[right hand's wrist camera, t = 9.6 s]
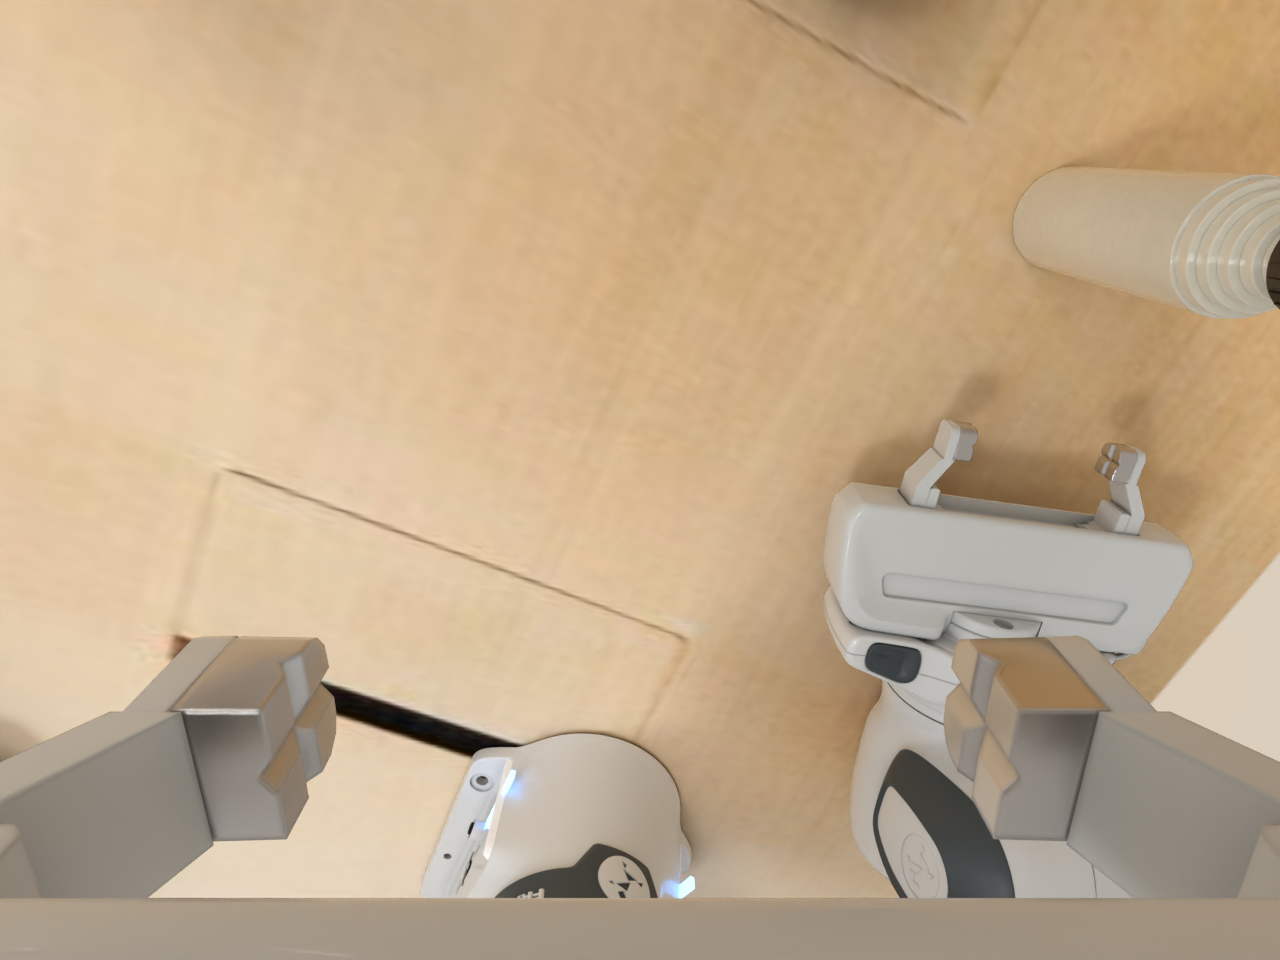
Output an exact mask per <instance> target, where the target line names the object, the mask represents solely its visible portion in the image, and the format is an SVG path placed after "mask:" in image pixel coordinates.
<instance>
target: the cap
mask: <svg viewBox="0 0 1280 960" xmlns="http://www.w3.org/2000/svg"><path fill="white" fill-rule="evenodd" d="M1266 286H1267V290H1268V294H1269V296H1270V298H1271V300H1272V301H1273V304H1274V305H1276V306H1277V307H1278V308H1279V309H1280V240H1279V241H1278V243H1277V244H1276V246H1275V248H1274V249H1273V252H1272V254H1271V256H1270V259H1269V262H1268V266H1267V270H1266Z"/></svg>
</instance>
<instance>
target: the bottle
mask: <svg viewBox="0 0 1280 960" xmlns="http://www.w3.org/2000/svg"><path fill="white" fill-rule="evenodd" d="M1013 236H1014V241H1015V244H1016V247H1017V249H1018V251H1019V252H1020V254H1021V255H1022V256H1023V257H1024V258H1025V259H1026V260H1027V261H1028V262H1029V263H1031V264H1033V265H1035V266H1037V267H1039V268H1042V269H1046V270H1049V271H1053V272H1056V273H1059V274H1063V275H1066V276H1069V277H1073V278H1076V279H1080V280H1083V281H1086V282H1090V283H1093V284H1097V285H1100V286H1103V287H1107V288H1110V289H1114V290H1117V291H1120V292H1124V293H1127V294H1130V295H1134V296H1137V297H1141V298H1144V299H1147V300H1151V301H1154V302H1158V303H1161V304H1164V305H1168V306H1171V307H1175V308H1178V309H1181V310H1185V311H1188V312H1191V313H1195V314H1198V315H1202V316H1205V317H1210V318H1216V319H1228V318H1235V319H1237V318H1247V317H1252V316H1256V315H1259V314H1262V313H1265V312H1267V311H1271V310H1274V309H1277V308H1278V307H1277V306H1276V305H1274V304H1273V301H1272V300H1271V298H1270V296H1269V294H1268V290H1267V286H1266V270H1267V266H1268V262H1269V259H1270V256H1271V254H1272V252H1273V249H1274V248H1275V246H1276V244H1277V243H1278V241H1279V240H1280V177H1279V176H1275V175H1269V174H1249V173H1224V172H1200V171H1176V170H1151V169H1127V168H1103V167H1078V166H1069V167H1062V168H1058V169H1055V170H1052V171H1050V172H1048V173H1046V174H1045V175H1043V176H1042V177H1040V178H1039V179H1038V180H1036V181H1035V182H1034V183H1033V184H1032V185H1031V186H1030V187H1029V188H1028V189H1027V191H1026V192H1025V193H1024V195H1023V196H1022V198H1021V199H1020V201H1019V204H1018V206H1017V208H1016V211H1015V215H1014V219H1013Z"/></svg>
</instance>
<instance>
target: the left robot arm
mask: <svg viewBox="0 0 1280 960" xmlns="http://www.w3.org/2000/svg"><path fill="white" fill-rule="evenodd" d="M977 438H978V431H977V429H976V428H975V427H973V426H971V424H970V423H965V422H959V421H953V420H942V421H941V423H940V426H939V429H938V432H937V436H936V439H935V442H934V445H933V447H930V448H929V449H928V450H927V451H926V452H925V453H924V454H923V455H922V456H921V457H920V458H919V459H918V460H917V461H916V462H915V463H914V464H913V465H912V466H910V467H909V468H908V469H907V470H906V471H905V474H904V477H903V480H902V484H901V487H900V488H895V487H888V486H880V485H873V484H866V483H859V482H851V483H849V484H848V485H846V486H845V487H844V488H843V489H841V490H840V491H839V492H838V493H837V494H836V495H835V496H834V498H833V501H832V504H831V508H830V513H829V517H828V523H827V529H826V536H825V544H824V556H823V562H824V569H825V573H826V575H827V578H828V580H829V583H830V586H829V587H828V589H827V590H826V593H825V596H824V599H823V607H824V613H825V617H826V621H827V624H828V627H829V629H830V632H831V634H832V636H833V639H834V641H835V643H836V645H837V647H838V649H839V650H840V652H841V654H842V655H843V657H844V659H845V660H846V662H847V663H848V664H849V665H851V666H852V667H854V668H856V669H858V670H860V671H863V672H865V673H868V674H870V675H872V676H875V677H877V678H879V679H882V693H881V696H880V698H879V700H878V702H877V703H876V704H875V705H874V707H873V708H872V710H871V711H870V713H869V715H868V717H867V720H866V723H865V726H864V730H863V733H862V736H861V740H860V744H859V748H858V752H857V756H856V760H855V765H854V771H853V777H852V783H851V792H850V811H849V812H850V827H851V831H852V835H853V838H854V840H855V842H856V844H857V846H858V848H859V850H860V852H861V853H862V855H863V856H864V857H865V859H866V860H867V861H868V862H869V863H870V865H871V866H872V867H873V868H875V869H876V870H877V871H878V872H879V873H881V874H882V875H883V876H885V877H886V878H888V879H889V880H890V881H891V883H892V885H893V887H894V888H895V890H896V892H897V894H898V895H899V897H900V898H1132V897H1131V896H1130V895H1129V894H1127V893H1126V892H1125V891H1124V890H1122V889H1121V888H1120V887H1119V886H1117V885H1116V884H1115V883H1114V882H1112V881H1111V880H1110V879H1109V878H1107V877H1106V876H1105V875H1104V874H1102V873H1101V872H1100V871H1099V870H1097V869H1096V868H1095V867H1094V866H1092V865H1091V864H1090V863H1089V862H1087V861H1086V860H1085V859H1084V858H1082V857H1081V856H1080V855H1079V854H1077V853H1076V852H1075V851H1074V850H1072V849H1071V848H1070V847H1069V846H1067V845H1066V844H1067V841H1036V840H1000V839H993V837H992V835H991V833H990V832H989V830H988V828H987V826H986V824H985V822H984V820H983V819H982V817H981V815H980V813H979V811H978V809H977V807H976V806H975V804H974V802H973V800H972V798H971V797H972V791H973V785H974V782H972V781H971V780H970V779H968V778H967V777H965V776H964V775H962V774H961V773H959V772H958V771H957V769H956V767H955V765H954V763H953V761H952V759H951V758H950V755H949V751H948V748H947V745H946V741H945V731H944V720H943V719H944V711H945V703H946V697H947V696H948V695H949V694H950V693H951V692H952V691H953V690H954V688H955V687H956V686H957V685H958V684H959V683H960V681H959V680H958V678H957V676H956V675H955V673H954V671H953V670H952V668H951V665H952V660H953V654H954V650H955V647H956V645H957V643H958V641H959V639H986V638H1026V637H1052V636H1080V637H1083V638H1085V639H1088V640H1089V641H1090V642H1091V643H1092V644H1093V645H1094V646H1095V647H1096V648H1097V649H1098V651H1099V652H1100V653H1101V654H1102V655H1103V656H1104V657H1105V658H1106V659H1107V660H1108V661H1109V662H1110V663H1111V664H1112V665H1113V664H1114V663H1115V660H1121V659H1125V658H1127V657H1129V656H1131V655H1135V654H1138V653H1139V652H1140V651H1141V650H1142V649H1143V647H1144V646H1145V644H1146V642H1147V640H1148V638H1149V637H1150V635H1151V634H1152V633H1153V632H1154V631H1155V629H1156V628H1157V627H1158V625H1159V624H1160V622H1161V621H1162V619H1163V618H1164V616H1165V615H1166V613H1167V612H1168V610H1169V609H1170V607H1171V606H1172V604H1173V603H1174V601H1175V599H1176V598H1177V596H1178V594H1179V593H1180V591H1181V589H1182V587H1183V586H1184V584H1185V582H1186V580H1187V578H1188V576H1189V574H1190V572H1191V570H1192V568H1193V558H1192V555H1191V552H1190V549H1189V547H1188V545H1187V544H1186V543H1185V542H1184V541H1182V540H1181V539H1180V538H1179V537H1177V536H1176V535H1175V534H1173V533H1172V532H1170V531H1169V530H1167V529H1166V528H1164V527H1163V526H1161V525H1159V524H1157V523H1154V522H1149V521H1144V518H1145V513H1144V509H1143V504H1142V499H1141V495H1140V490H1139V485H1137V482H1138V479H1139V477H1140V474H1141V472H1142V469H1143V467H1144V464H1145V462H1146V454H1145V452H1143V451H1142V450H1140V449H1138V448H1137V447H1135V446H1132V445H1125V444H1117V443H1109V442H1108V443H1106V444H1105V445H1104V446H1103V448H1102V451H1101V452H1102V456H1101V457H1100V458H1099V459H1098V461H1097V464H1096V467H1095V470H1096V471H1098V472H1099V473H1101V474H1103V475H1105V477H1106V478H1108V479H1109V486H1110V492H1111V501H1110V500H1108V499H1102V500H1101V501H1100V503H1099V506H1098V508H1097V511H1096V513H1095V514H1089V513H1082V512H1074V511H1067V510H1059V509H1052V508H1044V507H1037V506H1029V505H1022V504H1015V503H1007V502H1000V501H992V500H985V499H977V498H970V497H962V496H955V495H948V494H940V490H939V489H938V488H937V486H936V485H935V484H934V483H935V482H936V481H937V480H938V479H939V478H940V477H941V476H942V475H943V474H944V472H945V471H946V470H947V469H948V468H949V467H950V466H951V465H952V464H953V463H954V462H955V460H960V461H969V462H970V460H971V457H972V454H973V451H974V450H973V448H972V446H973V445H974V444H975V443H976V441H977ZM1115 652H1116V654H1115ZM480 776H484V777H486V778H481V777H480ZM691 856H692V851H691V847H690V845H689V842H688V840H687V839H686V837H685V835H684V833H683V832H682V830H681V825H680V799H679V794H678V791H677V788H676V785H675V783H674V781H673V779H672V778H671V776H670V775H669V773H668V772H667V770H666V769H665V768H664V767H663V766H662V765H661V764H660V763H659V762H658V761H657V760H656V759H655V758H654V757H652V756H651V755H650V754H648V753H647V752H645V751H644V750H642V749H641V748H639V747H637V746H635V745H633V744H631V743H628V742H626V741H623V740H620V739H617V738H613V737H610V736H605V735H598V734H588V733H574V734H564V735H558V736H553V737H549V738H546V739H543V740H540V741H537V742H534V743H531V744H528V745H525V746H521V747H492V748H485V749H481V750H479V751H477V752H476V753H475V754H474V755H473V757H472V759H471V761H470V764H469V766H468V769H467V771H466V774H465V776H464V778H463V781H462V783H461V786H460V788H459V791H458V793H457V795H456V798H455V800H454V803H453V805H452V808H451V810H450V812H449V815H448V817H447V820H446V822H445V825H444V827H443V829H442V832H441V834H440V837H439V839H438V842H437V844H436V846H435V849H434V851H433V854H432V856H431V859H430V861H429V864H428V866H427V868H426V871H425V873H424V876H423V879H422V884H421V890H420V893H421V895H422V897H423V898H683V897H684V896H686V895H687V894H688V893H690V892H691V891H692V890H693V889H695V884H694V878H693V877H692V876H690V877H689V878H688V879H686V880H685V881H684V882H682V883H681V875H682V874H683V873H684V872H686V871H687V870H688V869H689V867H690V865H691ZM680 883H681V884H680Z"/></svg>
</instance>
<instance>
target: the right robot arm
mask: <svg viewBox="0 0 1280 960" xmlns="http://www.w3.org/2000/svg"><path fill="white" fill-rule="evenodd" d="M328 668H329V665H328V660H327V655H326V651H325V646H324V644H323V643H322V642H321V641H320V640H319V639H318V638H299V637H249V636H242V637H238V636H203V637H198V638H194V639H192V640H191V641H190V642H189V643H188V645H187V646H186V647H185V648H184V649H183V650H182V651H181V652H180V653H179V654H178V655H177V656H176V657H175V658H174V659H173V660H172V661H171V662H170V663H169V664H168V665H167V666H166V667H165V668H164V669H163V670H162V672H161V673H160V674H159V675H158V676H157V677H156V678H155V679H154V680H153V681H152V682H151V683H150V684H149V685H148V686H147V687H146V688H145V689H144V690H143V691H142V692H141V693H140V694H139V695H138V696H137V697H136V699H135V700H134V701H133V702H132V703H131V704H130V705H129V706H128V707H127V708H126V709H125V710H124V711H123V712H108V713H106V714H104V715H102V716H99V717H97V718H95V719H93V720H91V721H89V722H86V723H84V724H82V725H80V726H78V727H75V728H73V729H71V730H69V731H67V732H65V733H62V734H60V735H58V736H56V737H54V738H52V739H49V740H47V741H45V742H43V743H41V744H38V745H36V746H34V747H32V748H30V749H28V750H25V751H23V752H21V753H19V754H17V755H15V756H12V757H10V758H8V759H6V760H4V761H1V762H0V960H1280V762H1278V761H1276V760H1274V759H1272V758H1270V757H1267V756H1265V755H1263V754H1261V753H1259V752H1257V751H1254V750H1252V749H1250V748H1248V747H1246V746H1243V745H1241V744H1239V743H1237V742H1235V741H1233V740H1230V739H1228V738H1226V737H1224V736H1222V735H1220V734H1217V733H1215V732H1213V731H1211V730H1209V729H1207V728H1204V727H1202V726H1200V725H1198V724H1196V723H1194V722H1191V721H1189V720H1187V719H1185V718H1183V717H1181V716H1178V715H1176V714H1174V713H1172V712H1157V711H1156V710H1155V709H1154V708H1153V707H1152V706H1151V705H1150V704H1149V703H1148V702H1147V700H1146V699H1145V698H1144V697H1143V696H1142V695H1141V694H1140V693H1139V692H1138V691H1137V690H1136V689H1135V688H1134V687H1133V686H1132V685H1131V684H1130V683H1129V682H1128V681H1127V680H1126V679H1125V678H1124V677H1123V675H1122V674H1121V673H1120V672H1119V671H1118V670H1117V669H1116V668H1115V667H1114V666H1113V665H1112V664H1111V663H1110V662H1109V661H1108V660H1107V659H1106V658H1105V657H1104V656H1103V655H1102V654H1101V653H1100V652H1099V651H1098V649H1097V648H1096V647H1095V646H1094V645H1093V644H1092V643H1091V642H1090V641H1089V640H1088V639H1085V638H1083V637H1080V636H1052V637H1026V638H986V639H959V641H958V643H957V645H956V647H955V650H954V654H953V660H952V665H951V668H952V670H953V671H954V673H955V675H956V676H957V678H958V680H959V681H960V683H959V684H958V685H957V686H956V687H955V688H954V690H953V691H952V692H951V693H950V694H949V695H948V696H947V697H946V703H945V711H944V719H943V720H944V731H945V741H946V745H947V748H948V751H949V755H950V758H951V759H952V761H953V763H954V765H955V767H956V769H957V771H958V772H959V773H961V774H962V775H964V776H965V777H967V778H968V779H970V780H971V781H972V782H974V785H973V791H972V797H971V798H972V800H973V802H974V804H975V806H976V807H977V809H978V811H979V813H980V815H981V817H982V819H983V820H984V822H985V824H986V826H987V828H988V830H989V832H990V833H991V835H992V837H993V839H1000V840H1036V841H1067V844H1066V845H1067V846H1069V847H1070V848H1071V849H1072V850H1074V851H1075V852H1076V853H1077V854H1079V855H1080V856H1081V857H1082V858H1084V859H1085V860H1086V861H1087V862H1089V863H1090V864H1091V865H1092V866H1094V867H1095V868H1096V869H1097V870H1099V871H1100V872H1101V873H1102V874H1104V875H1105V876H1106V877H1107V878H1109V879H1110V880H1111V881H1112V882H1114V883H1115V884H1116V885H1117V886H1119V887H1120V888H1121V889H1122V890H1124V891H1125V892H1126V893H1127V894H1129V895H1130V896H1131V897H1132V898H148V897H149V896H150V895H152V894H153V893H154V892H155V891H157V890H158V889H159V888H160V887H162V886H163V885H164V884H165V883H167V882H168V881H169V880H170V879H172V878H173V877H174V876H175V875H177V874H178V873H179V872H180V871H182V870H183V869H184V868H185V867H187V866H188V865H189V864H190V863H192V862H193V861H194V860H195V859H197V858H198V857H199V856H200V855H202V854H203V853H204V852H205V851H207V850H208V849H209V848H210V847H212V846H213V841H243V840H278V839H287V837H288V836H289V834H290V832H291V830H292V828H293V826H294V824H295V822H296V821H297V819H298V817H299V815H300V813H301V811H302V809H303V807H304V806H305V804H306V802H307V800H308V798H309V796H308V791H307V785H306V782H308V781H309V780H311V779H312V778H313V777H315V776H316V775H318V774H319V773H321V772H322V771H323V769H324V767H325V765H326V763H327V761H328V759H329V757H330V755H331V752H332V747H333V743H334V739H335V734H336V709H335V702H334V697H333V696H332V695H331V694H330V693H329V692H328V691H327V689H326V688H325V687H324V686H323V685H322V684H321V683H320V681H321V680H322V678H323V676H324V675H325V673H326V671H327V670H328Z"/></svg>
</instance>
